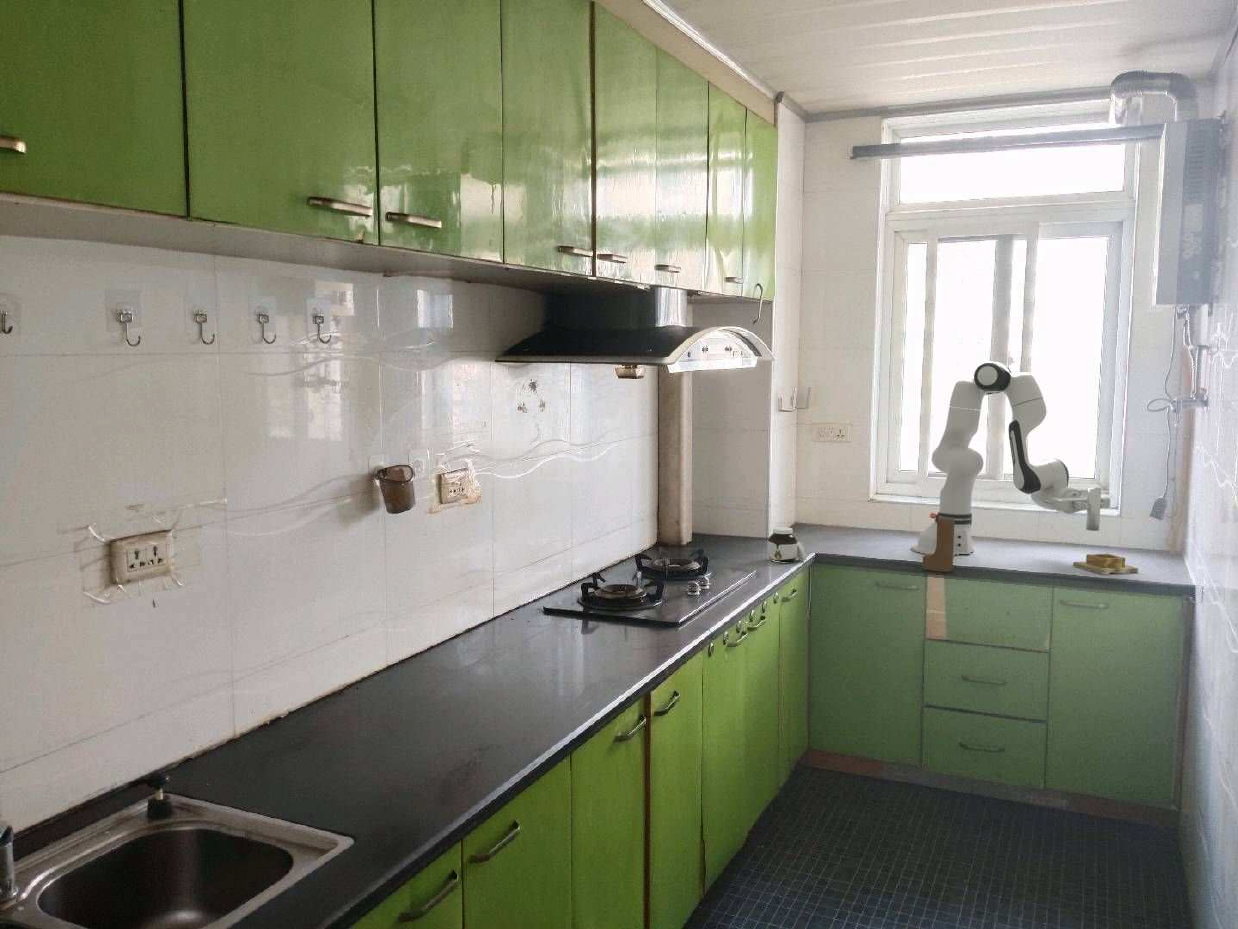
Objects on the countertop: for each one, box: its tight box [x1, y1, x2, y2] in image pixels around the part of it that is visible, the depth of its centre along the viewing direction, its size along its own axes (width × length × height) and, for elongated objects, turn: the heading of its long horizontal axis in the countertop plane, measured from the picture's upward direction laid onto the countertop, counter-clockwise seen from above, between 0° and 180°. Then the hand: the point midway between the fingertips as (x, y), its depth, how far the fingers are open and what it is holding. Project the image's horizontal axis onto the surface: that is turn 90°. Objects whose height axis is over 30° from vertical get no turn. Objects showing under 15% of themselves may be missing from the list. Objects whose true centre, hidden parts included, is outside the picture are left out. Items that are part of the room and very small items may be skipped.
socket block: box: [1072, 552, 1139, 575], centre depth 337 cm, size 14×14×4 cm
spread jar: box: [767, 526, 807, 563], centre depth 349 cm, size 12×11×12 cm
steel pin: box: [1085, 486, 1102, 532], centre depth 331 cm, size 4×4×14 cm
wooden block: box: [921, 517, 955, 573], centre depth 334 cm, size 9×4×18 cm, turn 52°
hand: (1095, 506), depth 330 cm, fingers closed on steel pin, 4 cm apart
